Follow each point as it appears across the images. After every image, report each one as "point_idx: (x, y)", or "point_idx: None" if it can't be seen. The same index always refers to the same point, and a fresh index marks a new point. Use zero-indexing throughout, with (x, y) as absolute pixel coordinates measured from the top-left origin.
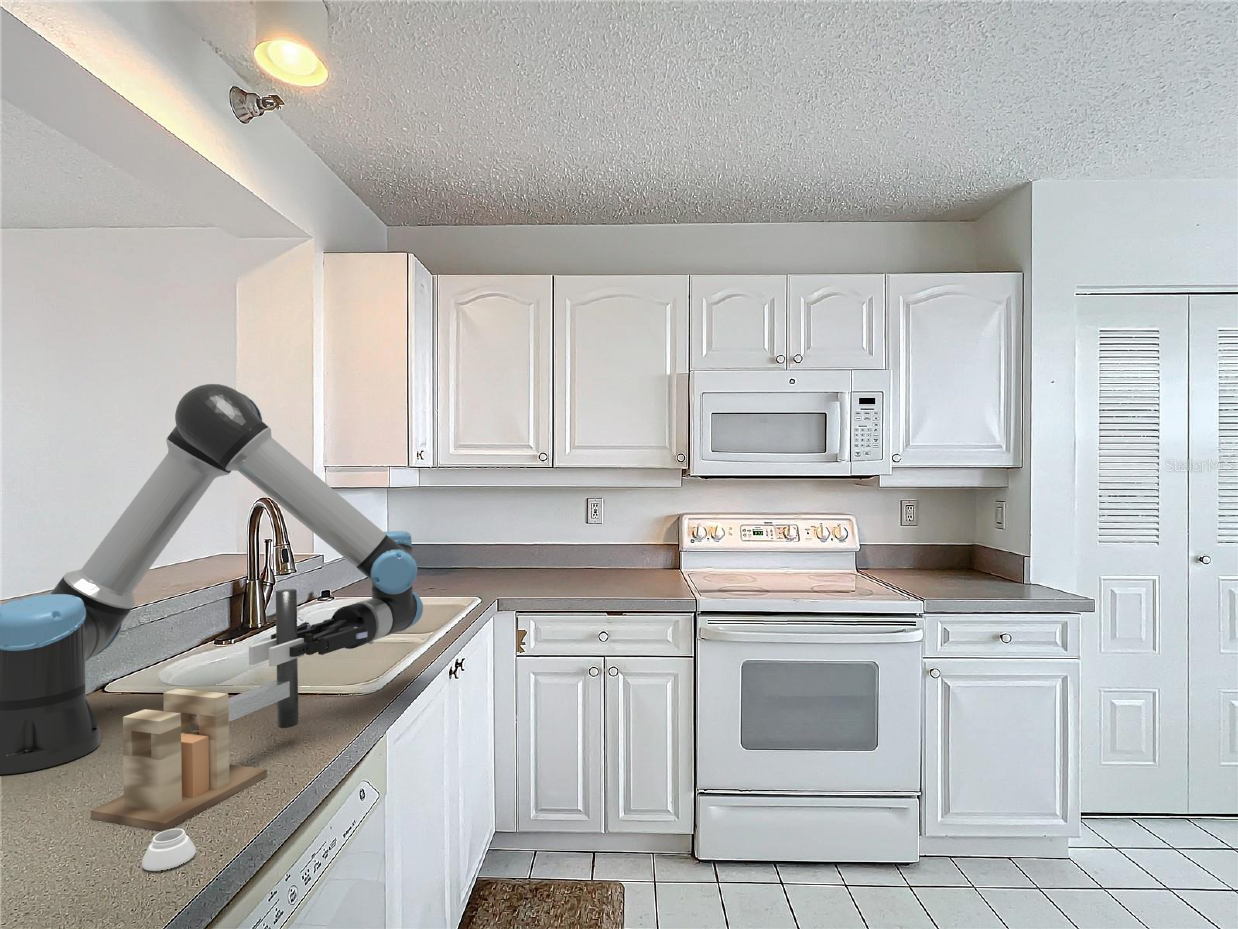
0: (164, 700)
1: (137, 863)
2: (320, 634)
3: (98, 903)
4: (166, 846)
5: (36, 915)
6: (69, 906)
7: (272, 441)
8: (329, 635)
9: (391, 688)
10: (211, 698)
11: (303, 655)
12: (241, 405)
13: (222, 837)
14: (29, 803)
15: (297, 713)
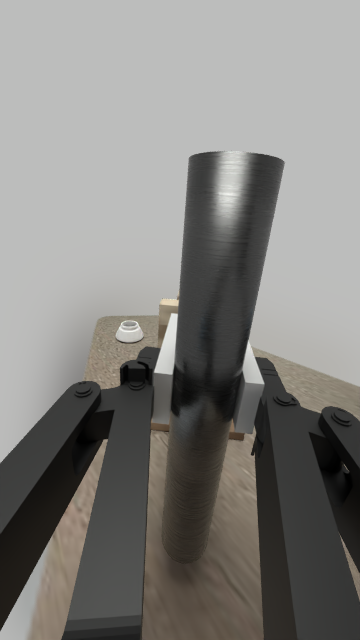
0: None
1: (146, 335)
2: (122, 447)
3: (138, 320)
4: (126, 323)
5: (158, 316)
6: (150, 319)
7: None
8: (60, 435)
9: None
10: (168, 299)
11: (153, 419)
12: None
13: (111, 351)
14: (303, 371)
15: (163, 524)
